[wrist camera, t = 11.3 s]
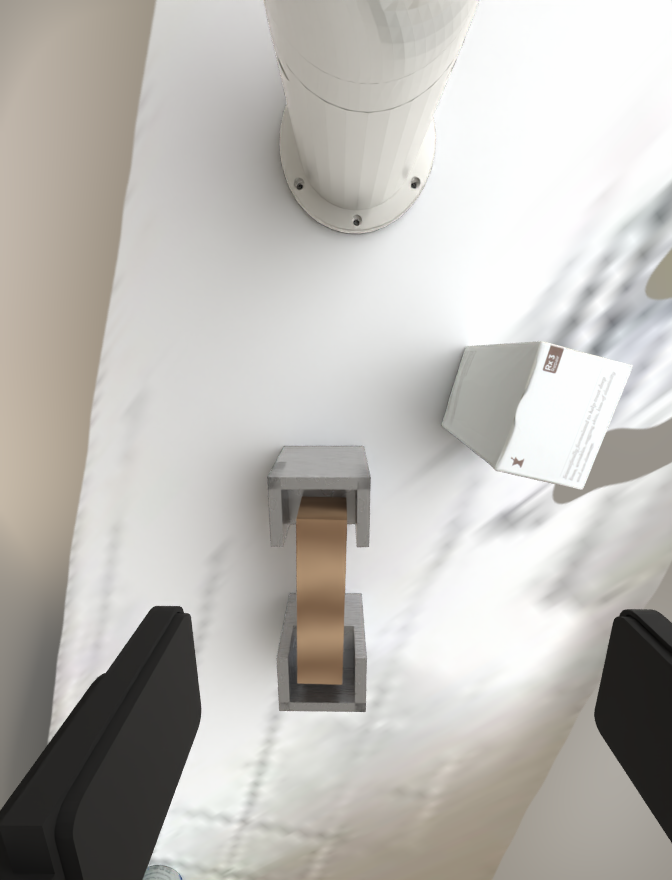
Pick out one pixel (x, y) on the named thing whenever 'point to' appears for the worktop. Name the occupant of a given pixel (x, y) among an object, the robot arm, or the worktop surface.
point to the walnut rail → (321, 588)
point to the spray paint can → (161, 873)
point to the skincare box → (535, 408)
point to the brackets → (350, 478)
